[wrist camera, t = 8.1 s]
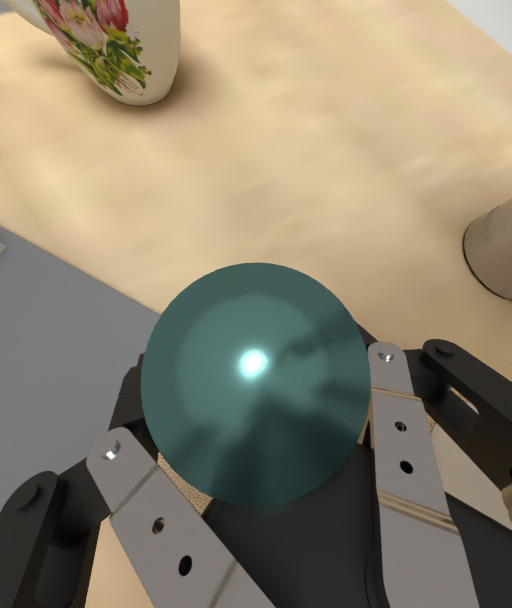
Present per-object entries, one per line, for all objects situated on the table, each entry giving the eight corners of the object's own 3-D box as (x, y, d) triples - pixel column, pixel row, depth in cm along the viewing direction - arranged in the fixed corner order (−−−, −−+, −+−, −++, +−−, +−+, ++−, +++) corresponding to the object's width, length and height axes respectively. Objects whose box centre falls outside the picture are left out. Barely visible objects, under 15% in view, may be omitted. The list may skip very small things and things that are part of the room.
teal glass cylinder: (290, 346, 18) (399, 324, 6) (257, 414, 16) (317, 559, 5) (229, 313, 18) (220, 228, 6) (191, 377, 16) (86, 424, 5)
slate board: (181, 327, 17) (176, 324, 16) (54, 524, 14) (33, 544, 12) (-23, 213, 18) (-45, 200, 16) (-194, 374, 14) (-243, 376, 13)
